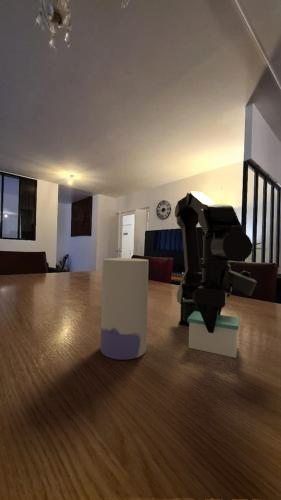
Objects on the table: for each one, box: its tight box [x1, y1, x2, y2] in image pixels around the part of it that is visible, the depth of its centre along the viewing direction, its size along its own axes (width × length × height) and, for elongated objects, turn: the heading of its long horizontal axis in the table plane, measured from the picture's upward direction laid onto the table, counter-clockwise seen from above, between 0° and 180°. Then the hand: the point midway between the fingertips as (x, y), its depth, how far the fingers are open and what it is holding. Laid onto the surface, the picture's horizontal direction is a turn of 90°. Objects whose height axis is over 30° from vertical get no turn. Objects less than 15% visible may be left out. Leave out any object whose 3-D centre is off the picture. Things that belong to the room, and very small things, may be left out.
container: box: [100, 257, 149, 361], centre depth 50 cm, size 10×10×20 cm
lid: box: [187, 311, 241, 331], centre depth 52 cm, size 11×7×2 cm
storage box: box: [188, 322, 239, 358], centre depth 52 cm, size 10×6×6 cm, turn 64°
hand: (213, 326), depth 52 cm, fingers open, 8 cm apart
